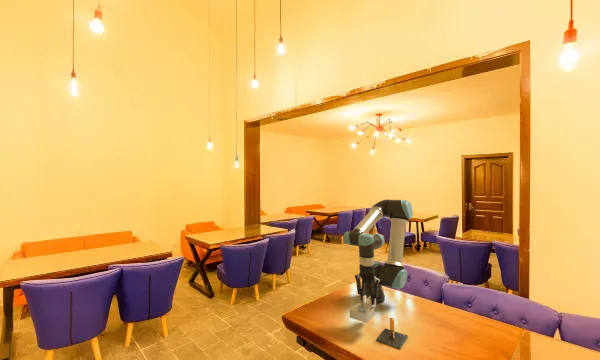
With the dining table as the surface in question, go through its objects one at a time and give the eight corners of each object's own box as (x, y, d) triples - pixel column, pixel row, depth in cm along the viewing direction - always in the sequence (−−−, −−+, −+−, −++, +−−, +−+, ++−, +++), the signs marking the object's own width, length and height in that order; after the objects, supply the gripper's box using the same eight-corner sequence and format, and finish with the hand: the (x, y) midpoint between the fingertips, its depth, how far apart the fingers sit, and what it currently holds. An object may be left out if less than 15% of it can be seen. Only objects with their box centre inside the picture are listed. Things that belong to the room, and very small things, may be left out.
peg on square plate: (385, 330, 135) (384, 311, 135) (407, 337, 129) (407, 317, 129) (376, 340, 127) (376, 320, 127) (400, 349, 120) (399, 327, 120)
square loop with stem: (365, 303, 148) (365, 294, 148) (381, 307, 142) (381, 298, 142) (349, 317, 134) (349, 307, 134) (366, 323, 128) (366, 312, 128)
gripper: (349, 263, 142) (350, 308, 142) (378, 269, 132) (380, 317, 132) (355, 259, 148) (357, 302, 148) (384, 265, 138) (386, 310, 138)
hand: (368, 309), depth 140 cm, fingers closed on square loop with stem, 3 cm apart
